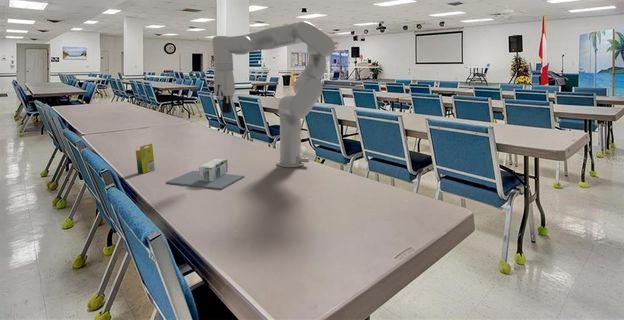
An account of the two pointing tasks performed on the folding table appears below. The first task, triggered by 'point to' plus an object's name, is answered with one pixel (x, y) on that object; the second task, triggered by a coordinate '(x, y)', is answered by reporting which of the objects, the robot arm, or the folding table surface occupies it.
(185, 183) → the mat
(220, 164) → the syrup box
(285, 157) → the robot arm
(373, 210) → the folding table surface
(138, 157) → the crayon box
